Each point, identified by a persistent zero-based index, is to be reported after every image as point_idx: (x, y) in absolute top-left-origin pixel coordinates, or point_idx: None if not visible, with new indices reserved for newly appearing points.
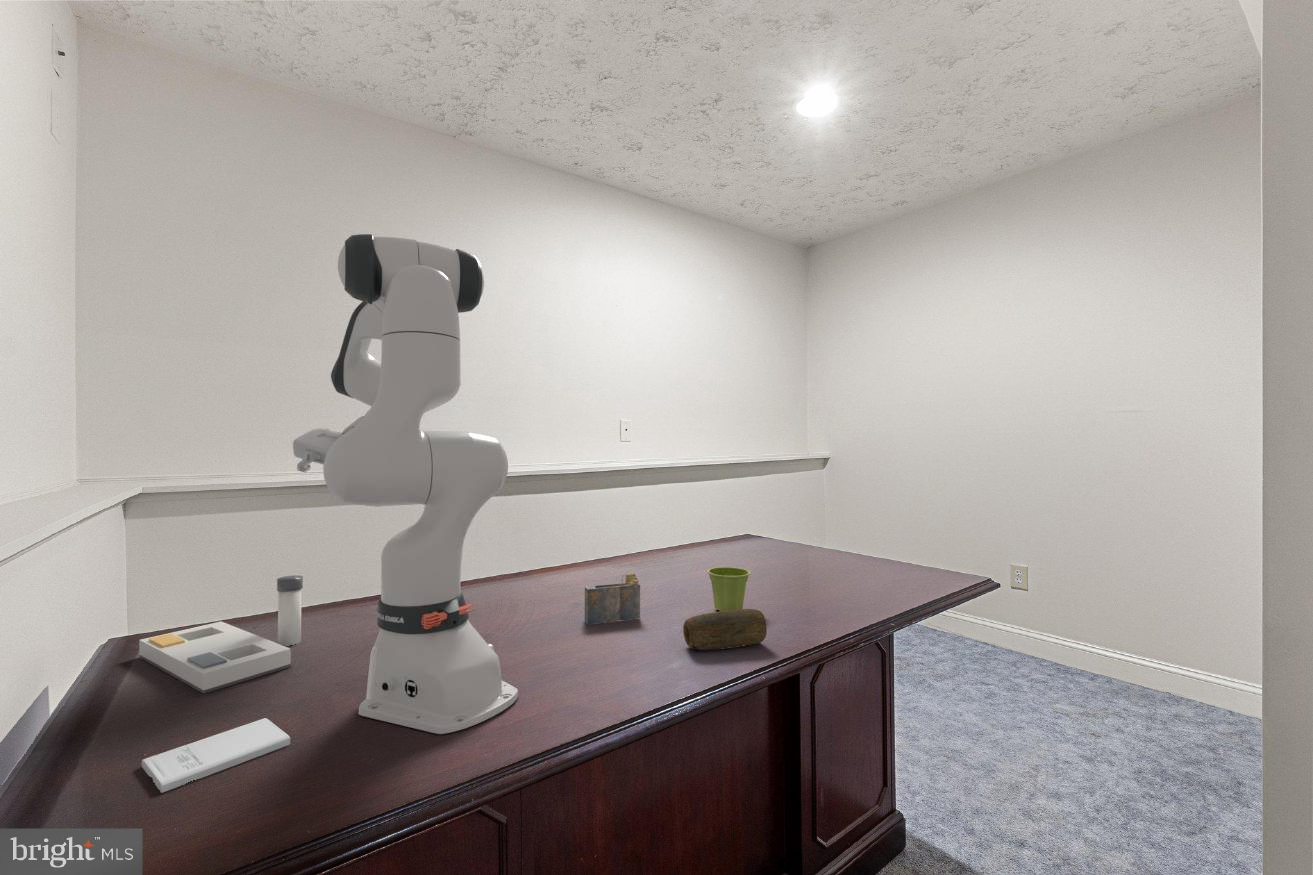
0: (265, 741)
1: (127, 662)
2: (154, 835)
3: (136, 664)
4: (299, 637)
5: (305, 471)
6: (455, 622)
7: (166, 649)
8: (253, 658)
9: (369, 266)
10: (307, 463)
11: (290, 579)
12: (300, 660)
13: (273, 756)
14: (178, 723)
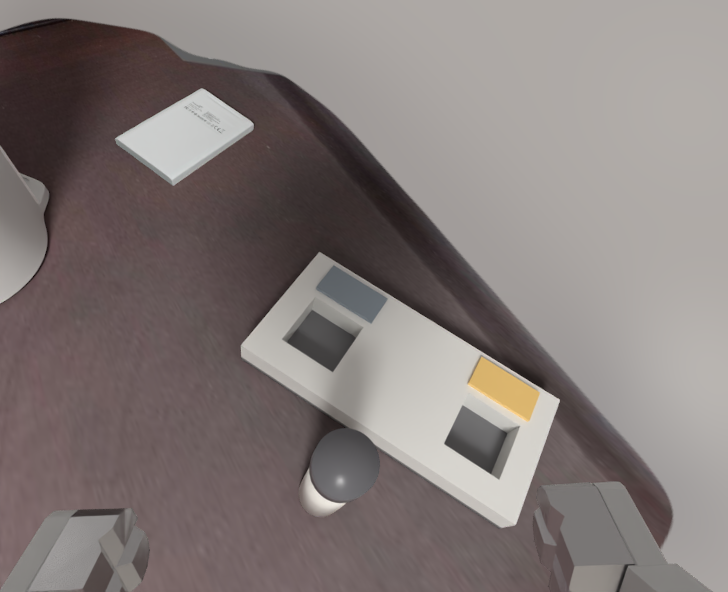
0: (139, 131)
1: None
2: (167, 52)
3: None
4: (299, 491)
5: (536, 534)
6: None
7: (465, 349)
8: (281, 302)
9: None
10: (561, 527)
11: (333, 443)
12: (239, 390)
13: (124, 126)
14: (284, 198)
